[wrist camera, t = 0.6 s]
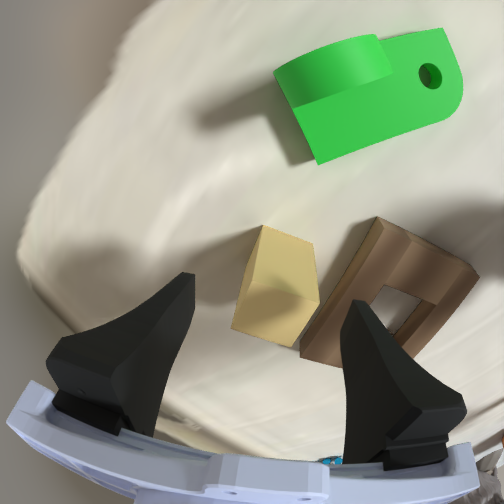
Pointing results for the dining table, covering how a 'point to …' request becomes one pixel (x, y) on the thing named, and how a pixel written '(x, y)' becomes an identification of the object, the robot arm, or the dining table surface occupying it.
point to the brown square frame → (396, 276)
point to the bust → (485, 483)
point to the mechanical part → (370, 90)
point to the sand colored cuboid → (277, 288)
